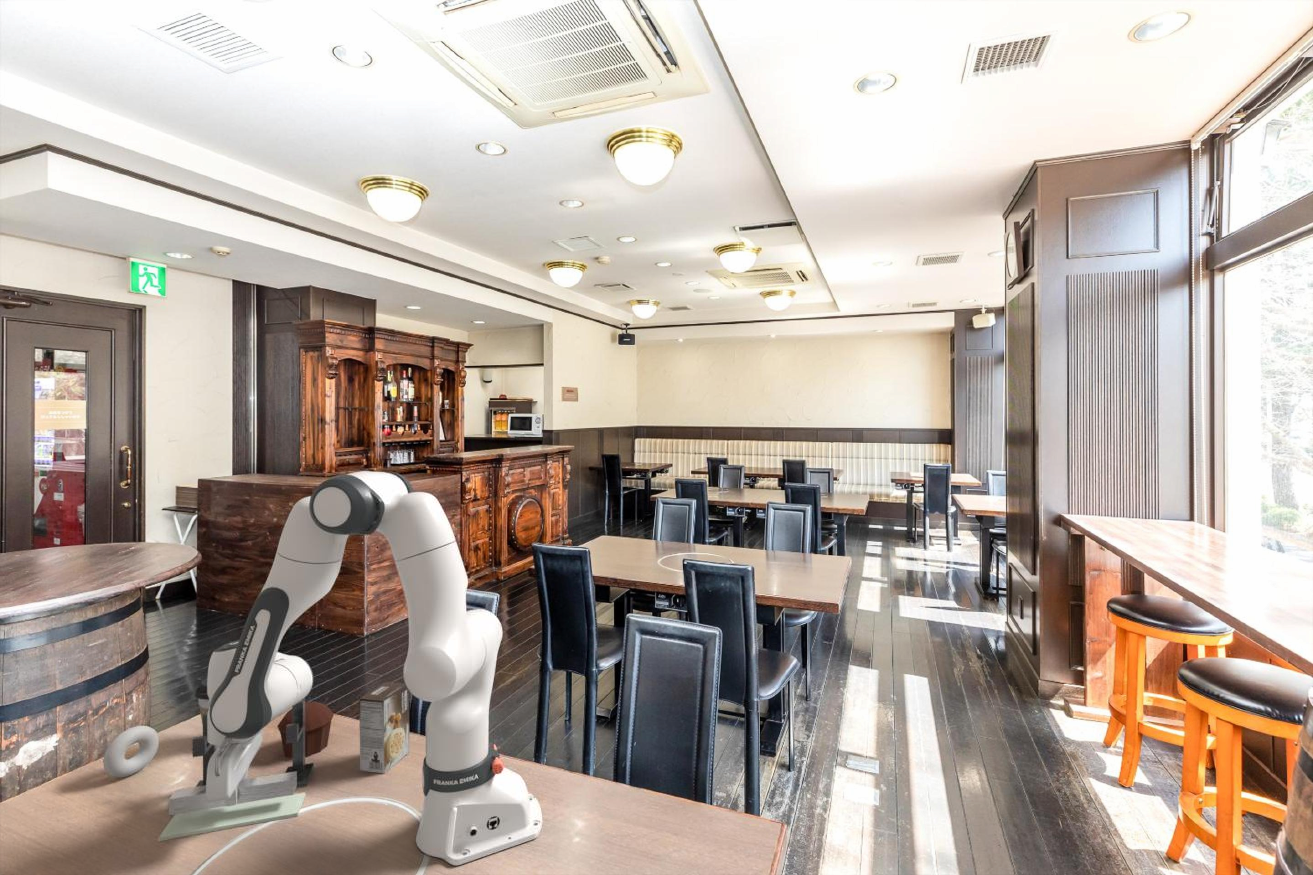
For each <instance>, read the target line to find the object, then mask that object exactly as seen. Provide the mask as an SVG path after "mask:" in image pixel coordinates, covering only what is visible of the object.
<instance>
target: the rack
mask: <svg viewBox="0 0 1313 875" xmlns="http://www.w3.org/2000/svg"><path fill="white" fill-rule="evenodd" d="M305 702H306V697H305V698H304V699H302V700H301V701H300V702H299V703H297V704H296V705H294V706H293V707H291V709H292V724H287V726H286V744H288V743H292V758H291V760H292V761H291V762H292V764H291V765H292V766H287V768H286V770H285V772H284V773H289V772H295V771H297V787H296V789H297V788H302V787H303V788H304V787H307V786H308V784H309V782H310V779H311V777H312V774H313V772H314V769H315V763H314V762H310V763H306V757H305ZM207 714H208V711H206V712H205V713H204V714H203V725H202V735H200V736H199V735H198V736H194V737H193V739H192V758H197V757H202V780H201V779H200V780H199V781H198V782H197V783H196V785H195V787H198V786H204V785H206V779H207V768H208V763H209V760H210V758H211V756H212V755H213V754H214V752H215V751H216V745H212V744H210V743H208V741H207Z"/></svg>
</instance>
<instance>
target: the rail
mask: <svg viewBox="0 0 1313 875" xmlns="http://www.w3.org/2000/svg"><path fill="white" fill-rule="evenodd" d="M296 787H297V771H295V772H289V773H285V772H283V773H276V774H269V775H265V776H258V777H257V776H256V777H252V778H246V779H243V780H240V782H239V783H238V786H237V792H239V796H238V797H239V799H238V801H237V803H236V804H241V803H247V802H253V801H259V800H265V799H271V798H277V797H283V796H289V795H293V794H295V792H296V789H297V788H296ZM222 806H226V805H225V800H222V801H217V802H208V801H207V799H206V785H204V786H198V787H196V786H193V787H186V788H185V787H184V788H178V789H175V791H174V792H173V793H172V795H171V796H170V797H169V799H168V815H169V816H171V815H172V816H174V815H175V814H180V813H186V812H192V811H198V810H204V809H210V808H216V807H222Z"/></svg>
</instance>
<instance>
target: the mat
mask: <svg viewBox="0 0 1313 875" xmlns="http://www.w3.org/2000/svg"><path fill="white" fill-rule="evenodd" d="M306 795H307V792H301V793H294V794H293V795H289V796H283V797H277V798H271V799H265V800H259V801H253V802H247V803H241V804H235V805H234V806H228V807H227V806H222V807H216V808H210V809H204V810H198V811H192V812H186V813H180V814H174V815H173V817H172V818H171V819H170V821H169V823H168V824H167V825H166V826H165V828H164V829H163V831H162V832H161V833H160V835H159V837H158V842H162V841H165V840H166V841H167V840H173V839H177V838H184V837H189V836H190V837H191V836H195V835H199V834H207V833H210V832H211V833H212V832H217V831H223V830H227V829H232V828H233V829H234V828H238V827H239V828H240V827H243V826H251V825H254V824H255V825H257V824H260V823H266V822H272V821H277V820H283V819H288V818H289V819H290V818H294V817H298V816H299V814H300V811H301V808H302V806H303V804H304V801H305V799H306Z"/></svg>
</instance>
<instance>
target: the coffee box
mask: <svg viewBox="0 0 1313 875" xmlns="http://www.w3.org/2000/svg"><path fill="white" fill-rule="evenodd" d="M358 699H359V702H358V703H359V706H358V708H359V709H358V710H359V714H358V715H359V770H360V771H363V772H372V773H379V774H386V773H387V772H389V771H390V770H391V768H393V767H394V766H395V765H396V764H397V763H398V762H400V761H401V760H402V759H403V758H404V757H405V756H406V755H408V754H409V753H410V691H409V690H408V688H407V686H406V684H405V682H404V683H401V682H390V681H389V682H388V681H384V682H382V684H380V685H378V686H376V687H375V688H373V689H371V690H370V691H369V692H367V693H366V694H364V695H363V696H361V697H359V698H358Z"/></svg>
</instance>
